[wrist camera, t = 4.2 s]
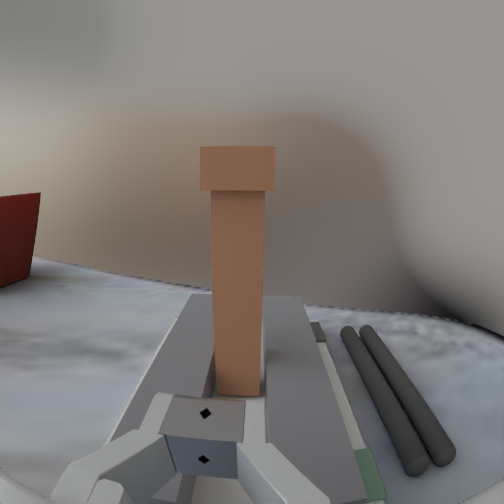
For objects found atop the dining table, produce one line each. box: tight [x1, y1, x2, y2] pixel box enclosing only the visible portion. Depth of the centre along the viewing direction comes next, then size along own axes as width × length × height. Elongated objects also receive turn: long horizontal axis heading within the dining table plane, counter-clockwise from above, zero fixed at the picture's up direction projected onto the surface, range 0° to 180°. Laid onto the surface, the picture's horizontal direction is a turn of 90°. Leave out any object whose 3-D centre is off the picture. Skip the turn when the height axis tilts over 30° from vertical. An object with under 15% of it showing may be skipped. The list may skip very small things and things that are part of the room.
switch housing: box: [103, 294, 387, 504], centre depth 20 cm, size 16×24×4 cm
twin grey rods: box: [340, 325, 456, 476], centre depth 20 cm, size 4×20×2 cm, turn 179°
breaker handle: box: [200, 146, 275, 396], centre depth 18 cm, size 4×4×16 cm
